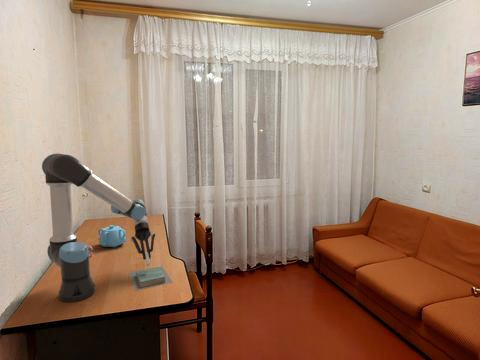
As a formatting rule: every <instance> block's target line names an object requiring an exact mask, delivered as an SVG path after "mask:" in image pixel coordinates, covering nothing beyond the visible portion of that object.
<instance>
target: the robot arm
mask: <svg viewBox="0 0 480 360" xmlns="http://www.w3.org/2000/svg"><path fill="white" fill-rule="evenodd" d="M41 163H42V164H41V170H42V171H43V173H44V176H45V184H46V185H48V187H49V195H50V196H49V197H50V211H51V225H52V228H51V229H52V236H51V237H50V238H49V241H48V242H49V245H48V247H47V250H46V251H47V253H46V254H47V257H48V258H49V260H50V261H51V262H52V263H54V264H55V265H57V267H59V268H60V274H61V284H60V288H59V290H58V299H59V301H61V302H64V303H73V302H79V301H84V300H85V299H88V298H89V297H91V296H93V295H94V294H95V292H96V286H95V283H94V281H93V279H92V277H91V268H90V257H89V256H90V253H89V252H90V251H89V247H87V246H88V245H87V244H86V243H85V242H82V241H81V242H78V239H77V238H78V236H77V235H76V234H75V233H74V227H73V206H72V191H71V185H72V184H73V185H74V186H76V187H78V188H81V187H82V188H83V189H84V190H87V191H88V192H89V193H91V194H92V195H95V196H96V197H98V198H99V199H100V200H102V201H104V202H105V203H107V204H108V205H110V210H111V213H113V214H116V215H122V216H124V217H127V218H131V220H133V225H134V232H135V234H134V236H131V237H130V238H131V240H130V241H132V242H133V245H134V246H135V249H136V251H137V253H138V254H139V255H140V254H141V255H142V258H143V259H142V260H145V265H146V267H149V266H150V263H151V262H150V259H151V256H152V255H151V253H152V252H153V251H154V241H155V237H156V233H152V232H151V230H150V227H149V225H150V224H149V221H148V220H149V219H148V215H147V209H146V204H145V202H144V201H143V200H142V199H134V200H131V199H130V198H129V197H127V196H126V195H124V194H123V193H122V192H120V191H118V190H117V189H116V188H114V187H112V185H110V184H108V183H107V182H106V181H104V180H103V179H101V178H100V177H98V176H97V175H95V174H94V173H93V170H92V169H91V168H89V167H88V166H87V165H85V164H84V163H83V162H81V161H80V160H79V159H78V158H76V157H74V156H72V155H69V154H66V153H65V154H64V153H63V154H62V153H58V152H57V153H52V154H49V155H47V156H46V157H45V158H44V159H43V161H42V162H41ZM150 238H151V239H150ZM149 239H150V240H151V241H150V243H149ZM138 241H139V243H140V245H139V243H138ZM145 248H146V250H145Z"/></svg>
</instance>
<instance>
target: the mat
mask: <svg viewBox="0 0 480 360" xmlns="http://www.w3.org/2000/svg"><path fill="white" fill-rule="evenodd" d="M158 267H159V268H160V270H161V271H162V273H163V274H164V276H165V282H161V283H156V284H152V285H147V286H142V287H140V284H139V282H138V279H137V277H136V271H137V270H136V271H131V272H128V275H129V278H130V281H131V284H132V286H133V288H134V291H139V290H140V291H141V290H145V289H149V288H154V287H159V286H163V285H167V284H172V283H173V281H172V280H171V277H170V276H169V275H168V273H167V272H166V270H165V268H164V267H163V266H162V265H161V266H158Z"/></svg>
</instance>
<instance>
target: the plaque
mask: <svg viewBox="0 0 480 360" xmlns="http://www.w3.org/2000/svg"><path fill="white" fill-rule="evenodd" d="M159 267H160V266H156V267H150V268H145V269H140V270H136V277H137V279H138V282H139V284H140V287H142V286H147V285H152V284H156V283H161V282H165V276H164V274H163V273H162V271H161V270H160V268H159Z"/></svg>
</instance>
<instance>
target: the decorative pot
mask: <svg viewBox="0 0 480 360" xmlns="http://www.w3.org/2000/svg"><path fill="white" fill-rule="evenodd" d="M97 232H98V243H99V245H101V246H102V247H104V248H109V247H110V248H111V247H112V248H117V247H119V246H121V245H122V244H123V243H126V242H127V238H126V233H127V232H126V231H125V229H123V228H121V226H119V225H113V224H110V225H108V226H106V227H105V228H104V227H103V228H102V227H101V228H99V229H98V231H97Z"/></svg>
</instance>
